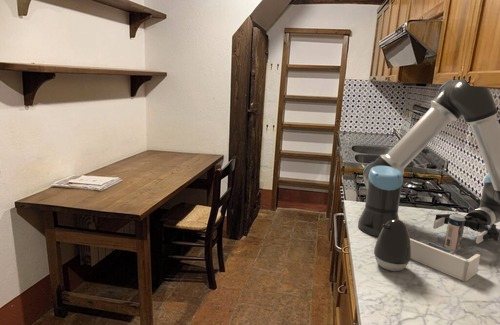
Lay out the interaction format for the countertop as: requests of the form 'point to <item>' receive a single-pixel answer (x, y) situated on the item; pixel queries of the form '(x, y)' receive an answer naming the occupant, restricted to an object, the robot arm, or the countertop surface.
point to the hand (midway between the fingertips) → (455, 231)
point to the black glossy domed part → (393, 246)
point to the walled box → (444, 260)
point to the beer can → (454, 232)
